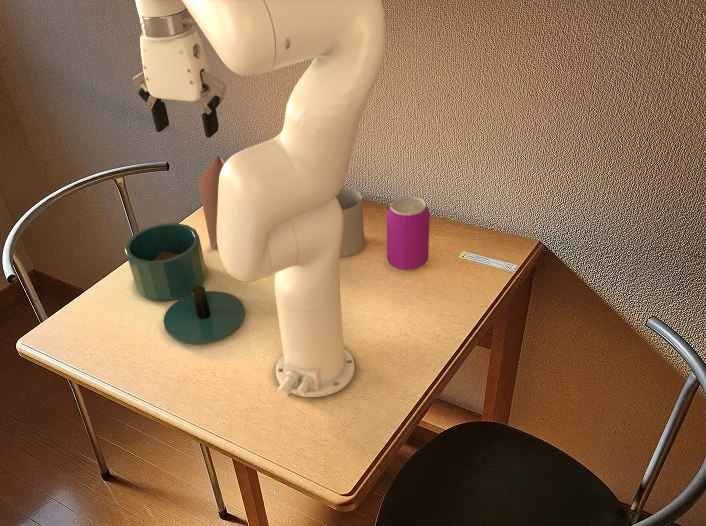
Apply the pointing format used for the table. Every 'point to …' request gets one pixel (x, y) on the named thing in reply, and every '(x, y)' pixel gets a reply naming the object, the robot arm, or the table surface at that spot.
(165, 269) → the pot
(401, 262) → the beverage can
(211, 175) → the greeting card
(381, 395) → the table surface
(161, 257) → the block
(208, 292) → the lid
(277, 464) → the table surface
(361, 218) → the cup
